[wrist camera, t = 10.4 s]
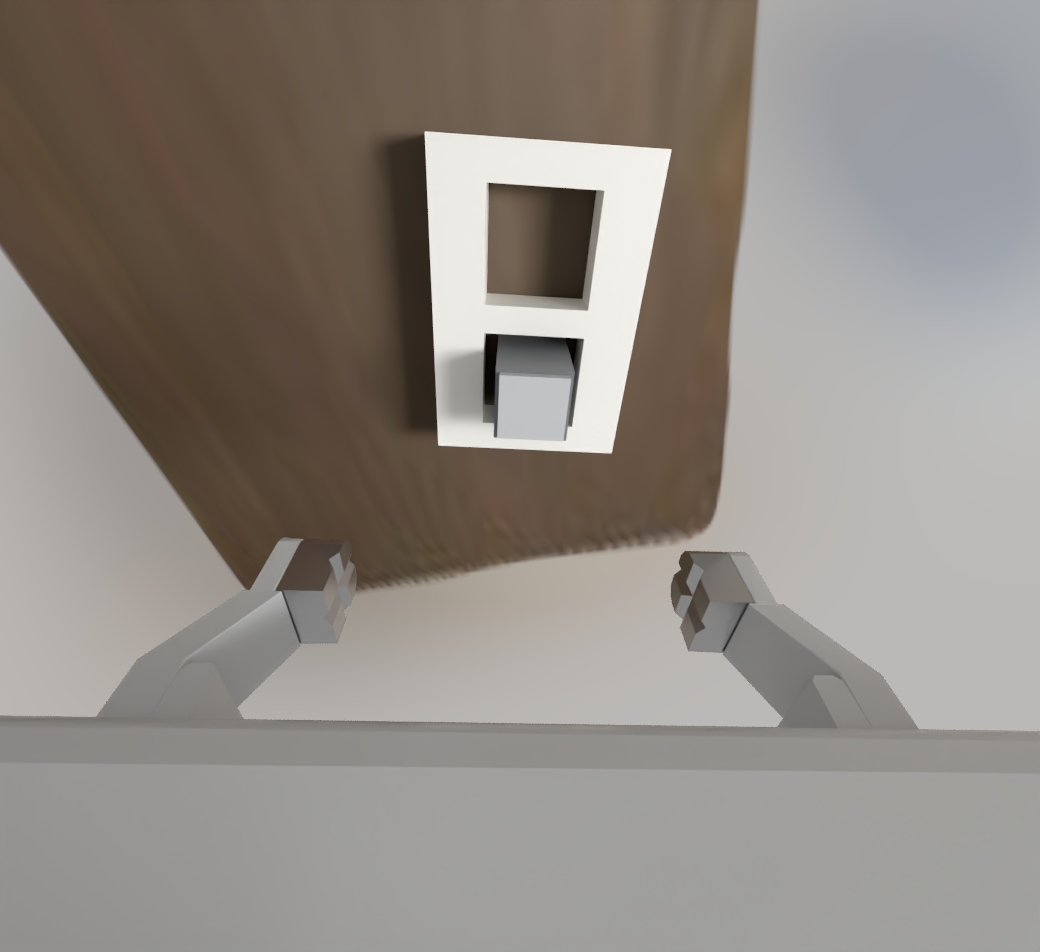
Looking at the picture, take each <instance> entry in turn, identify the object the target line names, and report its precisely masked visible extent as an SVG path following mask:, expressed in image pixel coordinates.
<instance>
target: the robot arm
mask: <svg viewBox="0 0 1040 952" xmlns="http://www.w3.org/2000/svg"><path fill="white" fill-rule="evenodd" d="M351 553H352V551H351V547H350V543H349V542H347V541H340V540H322V539H295V538H283V539H281V540H280V541H279V542H278V543H277V544H276V546H275V548H274V550H273V551H272V553H271V555H270V556H269V558H268V560H267V562H266V563H265V565H264V567H263V568H262V570H261V572H260V574H259V575H258V577H257V579H256V580H255V582H254V584H253V586H252V587H251V589H250V590H243V591H241V592H240V593H238V594H237V595H235V596H234V597H232V598H231V599H229V600H227V601H226V602H224V603H223V604H221V605H220V606H218V607H217V608H215V609H214V610H212V611H211V612H209V613H208V614H206V615H205V616H203V617H201V618H200V619H198V620H197V621H195V622H194V623H192V624H191V625H189V626H188V627H186V628H185V629H183V630H182V631H180V632H179V633H177V634H176V635H174V636H173V637H171V638H169V639H168V640H166V641H165V642H163V643H162V644H160V645H159V646H157V647H156V648H154V649H153V650H151V651H149V652H148V653H146V654H145V655H143V656H142V657H140V658H139V659H137V661H136V662H135V663H134V665H133V666H132V668H131V669H130V670H129V672H128V673H127V675H126V676H125V677H124V679H123V680H122V681H121V683H120V684H119V686H118V687H117V688H116V690H115V691H114V693H113V694H112V695H111V697H110V698H109V700H108V701H107V702H106V704H105V705H104V707H103V708H102V710H101V711H100V712H99V713H98V715H97V716H96V717H61V716H60V717H59V716H0V952H1040V731H995V730H928V729H927V730H926V729H918V727H917V726H916V724H915V723H914V721H913V720H912V718H911V717H910V716H909V714H908V713H907V711H906V710H905V708H904V707H903V705H902V704H901V702H900V701H899V699H898V698H897V697H896V695H895V694H894V693H893V691H892V689H891V688H890V686H889V685H888V683H887V682H886V680H885V679H884V677H883V676H882V675H881V674H880V673H878V672H877V671H875V670H874V669H873V668H871V667H870V666H868V665H867V664H866V663H864V662H863V661H862V660H860V659H859V658H857V657H856V656H854V655H853V654H852V653H850V652H849V651H848V650H846V649H845V648H843V647H842V646H841V645H839V644H838V643H837V642H835V641H834V640H832V639H831V638H830V637H828V636H826V635H825V634H824V633H823V632H821V631H820V630H818V629H817V628H816V627H814V626H813V625H811V624H810V623H809V622H807V621H806V620H805V619H803V618H802V617H800V616H799V615H798V614H796V613H795V612H793V611H792V610H791V609H789V608H788V607H786V606H785V605H781V604H777V602H776V601H775V599H774V597H773V595H772V594H771V592H770V590H769V589H768V587H767V585H766V583H765V581H764V580H763V578H762V576H761V575H760V573H759V571H758V569H757V568H756V566H755V564H754V562H753V561H752V559H751V557H750V556H749V555H748V554H747V553H745V552H700V551H685V552H684V553H683V554H682V555H681V557H680V560H679V565H680V567H681V570H680V571H679V572H678V573H676V574H675V575H674V577H673V580H672V584H671V600H672V605H673V607H674V611H675V613H676V614H678V615H679V616H680V617H681V618H682V619H683V621H682V624H681V627H680V629H681V631H682V634H683V637H684V640H685V643H686V646H687V649H688V651H697V652H717V653H723V655H724V656H725V657H726V658H727V659H728V660H729V662H730V663H731V664H732V665H733V666H734V667H735V668H736V669H737V670H738V671H739V672H740V673H741V674H742V675H743V676H744V677H745V678H746V679H747V681H748V682H749V683H750V684H751V685H752V686H753V687H754V688H755V689H756V690H757V691H758V692H759V693H760V694H761V695H762V696H763V697H764V698H765V699H766V701H767V702H768V703H769V704H770V705H771V706H772V707H773V708H774V709H775V710H776V711H777V712H778V713H779V714H780V715H781V716H782V717H783V719H782V721H781V722H780V723H779V725H778V726H777V727H727V726H725V727H724V726H660V725H657V726H656V725H655V726H652V725H589V724H588V725H587V724H521V723H520V724H517V723H455V722H451V723H449V722H386V721H381V722H380V721H321V720H319V721H318V720H316V721H315V720H256V719H254V720H253V719H252V720H251V719H243V717H242V715H241V714H240V712H239V710H238V708H237V707H238V706H239V705H240V704H241V703H242V702H243V701H244V700H245V699H246V698H247V697H248V696H249V695H250V694H251V693H252V692H253V691H254V690H255V689H256V688H258V687H259V686H260V685H261V684H262V683H263V682H264V681H265V680H266V679H267V678H268V677H269V676H270V675H271V674H272V673H273V672H274V671H275V670H276V669H277V668H278V667H279V666H280V665H281V664H282V663H283V662H284V661H285V660H286V659H287V658H288V657H289V656H290V655H291V654H292V653H293V652H294V651H295V650H296V649H298V647H300V644H303V643H304V644H308V643H309V644H314V643H338V641H339V638H340V635H341V632H342V629H343V626H344V624H345V621H346V617H345V613H344V609H346V608H347V607H348V606H349V605H351V603H352V600H353V597H354V594H355V587H356V570H355V566H354V565H353V564H352V563H351V562H350V561H349V559H350V556H351Z"/></svg>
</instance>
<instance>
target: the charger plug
mask: <svg viewBox="0 0 1040 952" xmlns="http://www.w3.org/2000/svg"><path fill="white" fill-rule="evenodd" d="M574 376H575V371H574V367H573V364H572V360H571V356H570V353H569V349H568V346H567V342H566V338H562V337H544V336H526V335H508V334H499V336H498V348H497V359H496V377H495V408H494V438H503V439H525V440H546V441H566V437H567V429H568V422H569V414H570V406H571V399H572V391H573V383H574Z"/></svg>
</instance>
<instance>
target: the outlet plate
mask: <svg viewBox="0 0 1040 952" xmlns="http://www.w3.org/2000/svg"><path fill="white" fill-rule="evenodd" d="M671 150H672V149H658V148H644V147H631V146H617V145H603V144H590V143H576V142H562V141H549V140H535V139H521V138H508V137H494V136H481V135H467V134H453V133H440V132H426V131H425V153H426V176H427V199H428V221H429V244H430V267H431V290H432V313H433V336H434V359H435V382H436V405H437V428H438V445H440V446H462V447H484V448H506V449H528V450H550V451H572V452H594V453H612V449H613V444H614V438H615V433H616V428H617V423H618V418H619V413H620V408H621V403H622V398H623V393H624V388H625V383H626V378H627V373H628V367H629V362H630V357H631V352H632V347H633V342H634V337H635V332H636V327H637V322H638V317H639V312H640V307H641V302H642V297H643V291H644V286H645V281H646V276H647V271H648V266H649V261H650V256H651V251H652V246H653V241H654V236H655V231H656V226H657V221H658V215H659V210H660V205H661V200H662V195H663V190H664V185H665V180H666V175H667V170H668V165H669V160H670V155H671ZM489 183H501V184H515V185H530V186H544V187H559V188H573V189H588V190H596V197H595V205H594V213H593V221H592V228H591V236H590V244H589V252H588V259H587V267H586V275H585V283H584V290H583V298H582V299H576V298H559V297H542V296H526V295H509V294H492V293H487V253H488V201H489ZM486 333H490V334H508V335H526V336H544V337H562V338H577V345H576V352H575V360H574V371H575V376H574V383H573V391H572V399H571V406H570V414H569V422H568V429H567V437H566V441H546V440H525V439H503V438H494V408H495V405H485V357H486Z"/></svg>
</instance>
